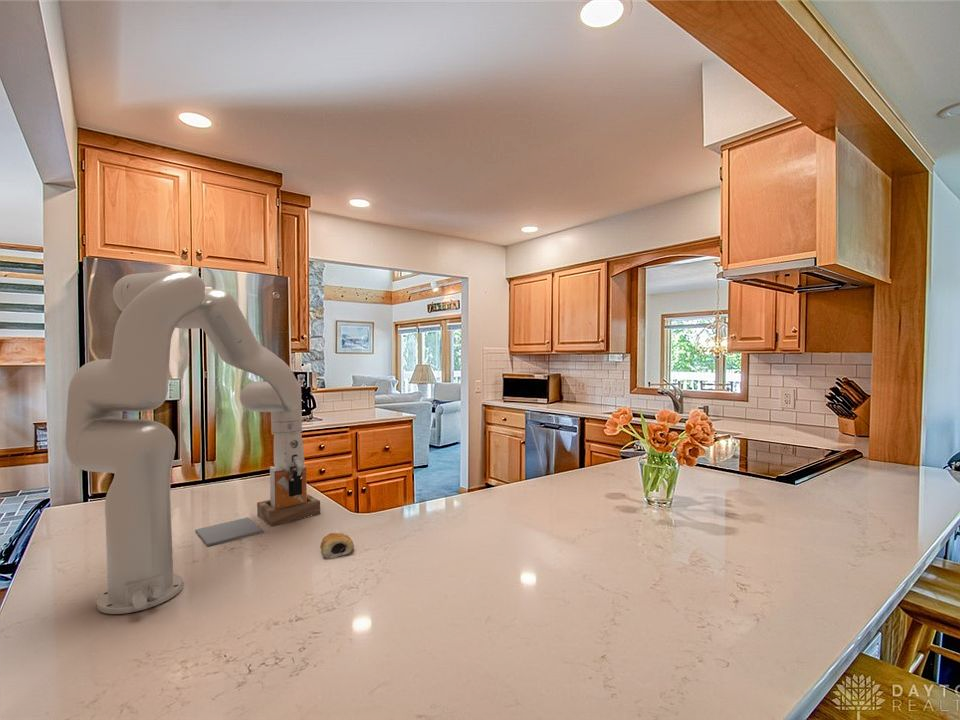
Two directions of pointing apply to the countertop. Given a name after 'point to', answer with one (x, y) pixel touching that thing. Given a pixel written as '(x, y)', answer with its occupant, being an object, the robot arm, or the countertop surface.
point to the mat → (228, 531)
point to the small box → (285, 489)
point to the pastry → (336, 545)
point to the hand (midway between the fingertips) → (288, 491)
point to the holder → (287, 511)
